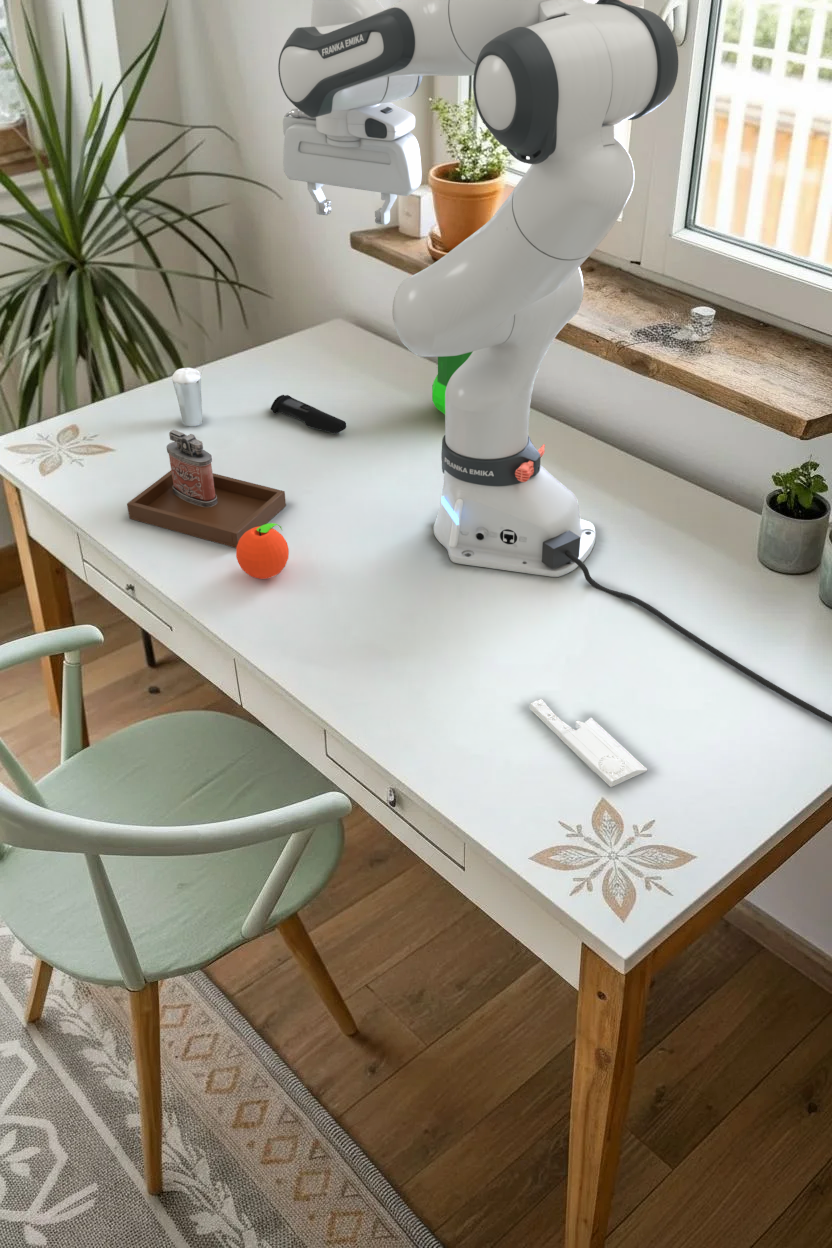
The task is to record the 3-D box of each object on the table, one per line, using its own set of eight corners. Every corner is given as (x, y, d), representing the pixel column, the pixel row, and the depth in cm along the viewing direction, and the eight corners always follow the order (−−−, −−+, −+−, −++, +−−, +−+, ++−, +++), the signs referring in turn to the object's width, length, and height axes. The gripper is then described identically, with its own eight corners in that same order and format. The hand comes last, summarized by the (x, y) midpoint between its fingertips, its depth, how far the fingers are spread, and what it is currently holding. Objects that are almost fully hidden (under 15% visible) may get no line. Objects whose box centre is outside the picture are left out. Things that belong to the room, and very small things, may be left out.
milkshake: (209, 428, 196) (201, 371, 190) (176, 428, 196) (167, 371, 190) (213, 415, 200) (206, 359, 194) (181, 415, 200) (173, 359, 194)
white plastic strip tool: (565, 694, 141) (566, 687, 140) (647, 771, 131) (648, 764, 130) (529, 708, 139) (530, 701, 138) (609, 788, 129) (610, 780, 128)
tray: (286, 506, 176) (284, 491, 175) (238, 548, 167) (236, 533, 166) (180, 478, 183) (178, 464, 182) (129, 518, 174) (126, 503, 173)
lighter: (222, 500, 177) (215, 439, 171) (205, 510, 175) (197, 448, 169) (185, 483, 181) (176, 423, 175) (167, 492, 179) (158, 431, 173)
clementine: (264, 551, 167) (259, 506, 162) (305, 565, 164) (301, 520, 160) (228, 579, 161) (222, 534, 157) (270, 594, 158) (265, 548, 154)
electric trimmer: (335, 443, 192) (334, 425, 190) (268, 413, 200) (267, 395, 198) (352, 435, 194) (351, 417, 192) (285, 405, 202) (284, 388, 200)
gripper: (269, 112, 164) (278, 215, 173) (404, 128, 157) (406, 235, 165) (294, 101, 169) (301, 202, 177) (426, 117, 161) (427, 221, 169)
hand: (353, 218), depth 171 cm, fingers open, 8 cm apart
